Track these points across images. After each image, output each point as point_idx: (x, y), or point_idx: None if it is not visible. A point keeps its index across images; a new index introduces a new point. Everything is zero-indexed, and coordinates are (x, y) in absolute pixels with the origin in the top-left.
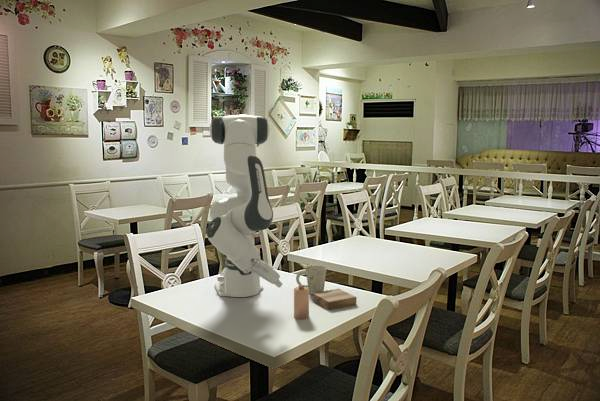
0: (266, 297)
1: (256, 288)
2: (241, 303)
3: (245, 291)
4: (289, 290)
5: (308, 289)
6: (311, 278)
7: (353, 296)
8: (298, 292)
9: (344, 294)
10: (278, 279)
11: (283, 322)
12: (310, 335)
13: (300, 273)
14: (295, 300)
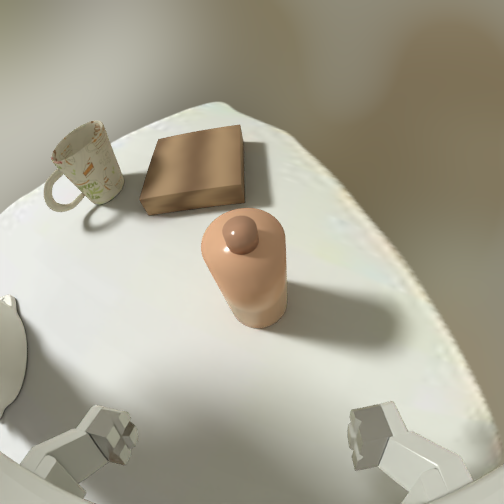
0: (51, 321)
1: (12, 324)
2: (52, 414)
3: (12, 366)
4: (56, 241)
5: (269, 214)
6: (89, 170)
7: (232, 127)
8: (272, 272)
9: (205, 138)
10: (435, 446)
11: (286, 386)
12: (432, 334)
13: (49, 186)
14: (257, 301)
